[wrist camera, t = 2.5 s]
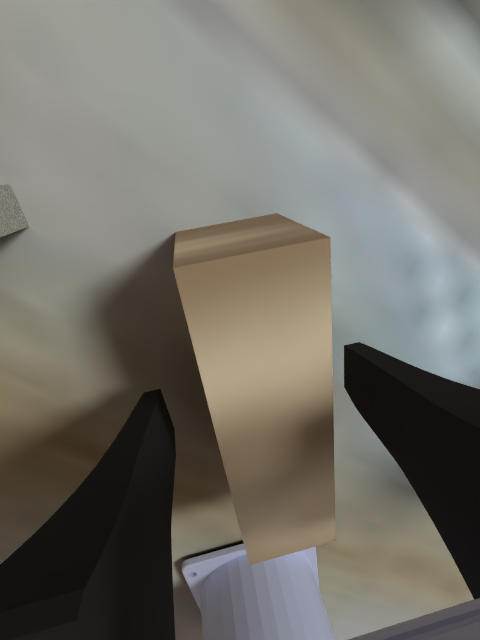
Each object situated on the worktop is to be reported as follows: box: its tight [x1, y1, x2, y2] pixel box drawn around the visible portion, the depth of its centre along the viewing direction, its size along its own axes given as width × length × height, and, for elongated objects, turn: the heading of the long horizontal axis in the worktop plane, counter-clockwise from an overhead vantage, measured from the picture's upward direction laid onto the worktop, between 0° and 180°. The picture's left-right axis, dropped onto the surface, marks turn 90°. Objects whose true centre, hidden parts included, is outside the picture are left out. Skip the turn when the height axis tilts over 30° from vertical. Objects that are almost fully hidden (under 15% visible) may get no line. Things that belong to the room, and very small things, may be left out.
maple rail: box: [173, 213, 335, 565], centre depth 11 cm, size 12×4×4 cm, turn 9°
